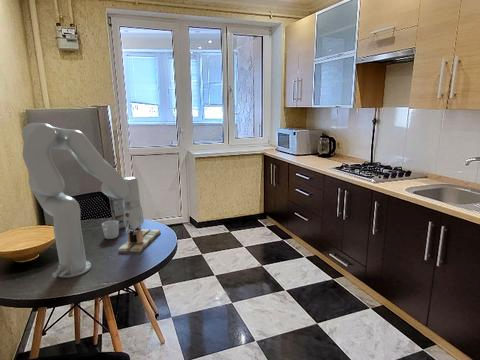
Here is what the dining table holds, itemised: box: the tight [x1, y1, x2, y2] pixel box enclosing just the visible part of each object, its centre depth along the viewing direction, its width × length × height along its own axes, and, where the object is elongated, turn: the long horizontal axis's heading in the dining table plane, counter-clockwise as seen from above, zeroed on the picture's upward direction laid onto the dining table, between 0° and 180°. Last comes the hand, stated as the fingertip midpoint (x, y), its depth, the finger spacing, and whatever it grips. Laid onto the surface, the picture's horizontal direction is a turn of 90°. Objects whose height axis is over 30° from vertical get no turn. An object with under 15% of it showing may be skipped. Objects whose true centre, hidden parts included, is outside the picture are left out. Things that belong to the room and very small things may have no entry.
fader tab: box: [126, 230, 143, 244], centre depth 149 cm, size 4×6×6 cm, turn 81°
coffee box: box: [109, 197, 125, 229], centre depth 176 cm, size 9×6×16 cm
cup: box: [101, 220, 120, 240], centre depth 159 cm, size 11×8×8 cm
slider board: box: [117, 228, 161, 255], centre depth 154 cm, size 24×10×2 cm, turn 171°
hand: (135, 240), depth 149 cm, fingers closed on fader tab, 3 cm apart
